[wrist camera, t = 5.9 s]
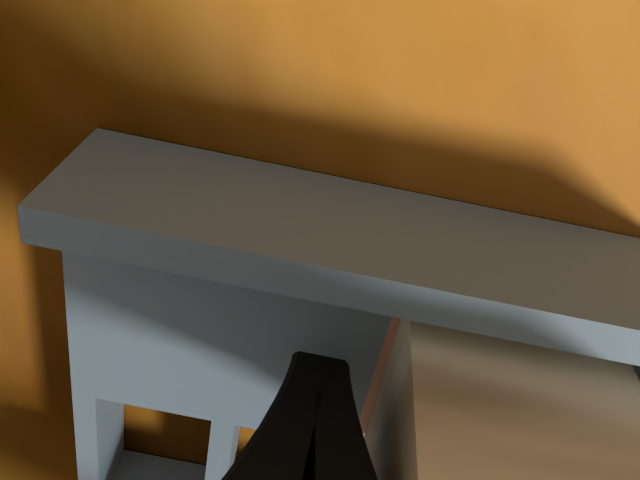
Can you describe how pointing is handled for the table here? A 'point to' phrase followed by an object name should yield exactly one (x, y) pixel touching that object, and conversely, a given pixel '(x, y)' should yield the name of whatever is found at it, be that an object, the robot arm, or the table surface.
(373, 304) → the trap box
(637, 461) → the beech block
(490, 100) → the table surface
